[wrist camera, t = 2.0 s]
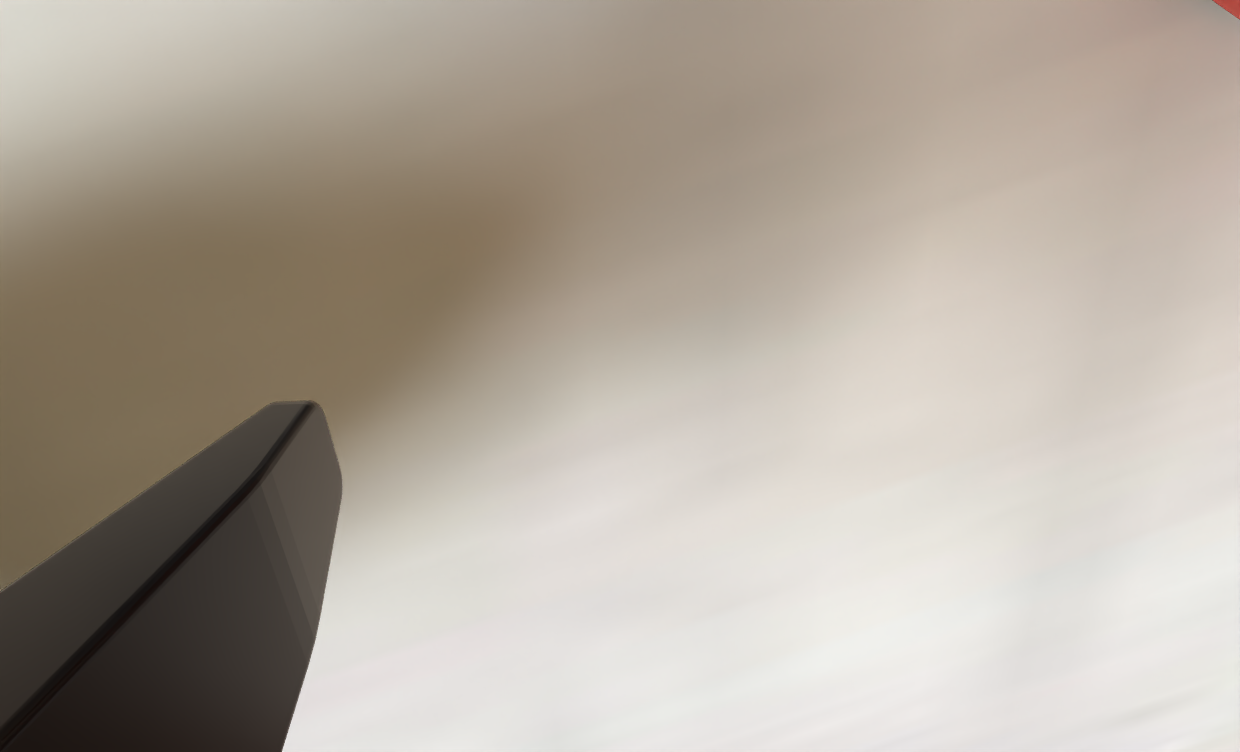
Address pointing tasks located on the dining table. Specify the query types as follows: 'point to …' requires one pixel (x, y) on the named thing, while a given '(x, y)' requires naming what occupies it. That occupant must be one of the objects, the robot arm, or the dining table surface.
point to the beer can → (1230, 6)
